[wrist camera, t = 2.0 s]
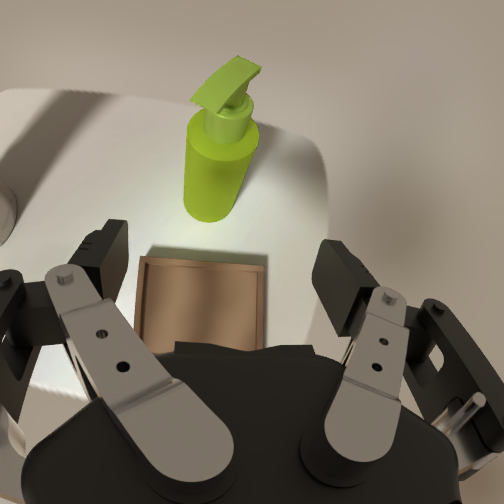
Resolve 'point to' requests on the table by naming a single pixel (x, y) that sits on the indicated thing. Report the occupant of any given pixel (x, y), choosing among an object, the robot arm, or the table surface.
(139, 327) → the soap tray
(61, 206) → the table surface
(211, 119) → the soap dispenser
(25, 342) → the robot arm
